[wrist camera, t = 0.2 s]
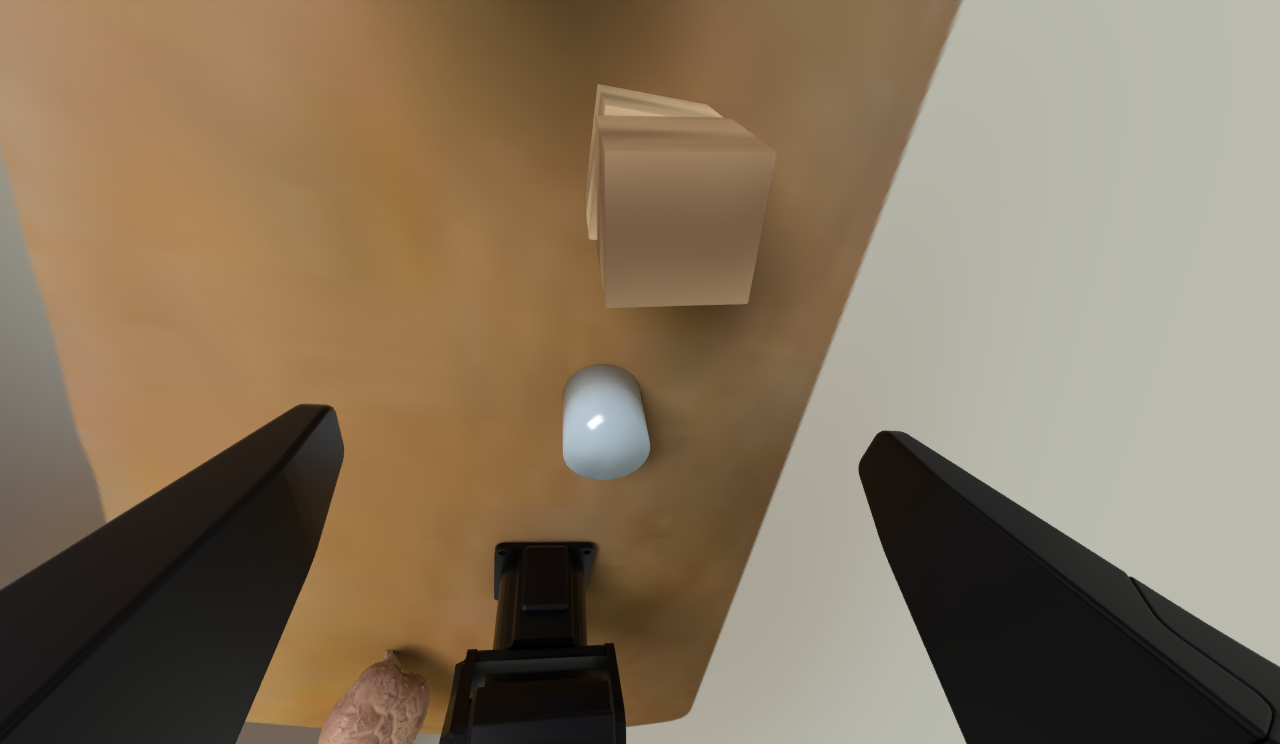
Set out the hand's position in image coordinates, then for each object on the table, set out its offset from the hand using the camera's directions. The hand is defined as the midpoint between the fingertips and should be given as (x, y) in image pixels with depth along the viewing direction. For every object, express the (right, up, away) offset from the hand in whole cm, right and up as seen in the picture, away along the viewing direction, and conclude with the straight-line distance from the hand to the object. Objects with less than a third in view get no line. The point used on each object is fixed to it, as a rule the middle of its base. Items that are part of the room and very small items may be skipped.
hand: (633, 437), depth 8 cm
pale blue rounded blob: (-2, 0, +18) cm, 18 cm away
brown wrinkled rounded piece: (-20, -21, +31) cm, 43 cm away
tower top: (+1, +7, +7) cm, 10 cm away
